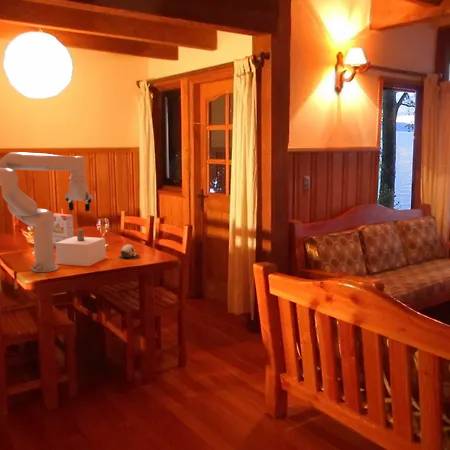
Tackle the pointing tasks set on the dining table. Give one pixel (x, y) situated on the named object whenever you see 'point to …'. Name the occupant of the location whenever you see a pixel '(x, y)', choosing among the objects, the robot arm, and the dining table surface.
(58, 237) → the cracker box
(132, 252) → the skull
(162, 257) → the dining table surface
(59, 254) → the cover
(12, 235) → the dining table surface
